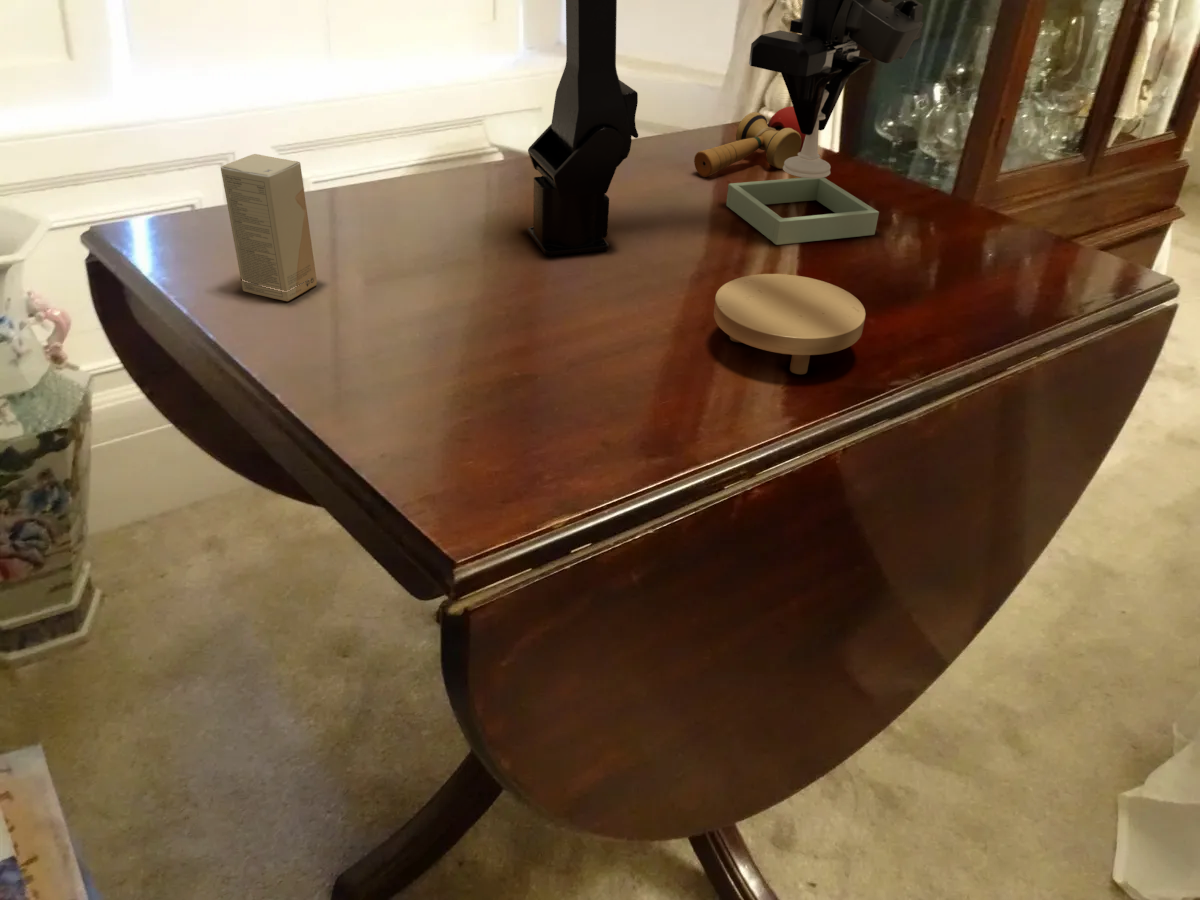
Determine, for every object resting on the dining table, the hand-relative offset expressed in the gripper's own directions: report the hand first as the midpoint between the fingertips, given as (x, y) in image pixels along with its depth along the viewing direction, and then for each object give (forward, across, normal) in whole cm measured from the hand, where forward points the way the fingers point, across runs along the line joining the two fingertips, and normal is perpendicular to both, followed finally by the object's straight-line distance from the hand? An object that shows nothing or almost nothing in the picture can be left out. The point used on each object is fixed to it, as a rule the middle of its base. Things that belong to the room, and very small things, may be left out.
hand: (812, 131), depth 105 cm
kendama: (+10, +12, +14) cm, 21 cm away
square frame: (+9, 0, 0) cm, 9 cm away
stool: (+9, -27, -14) cm, 32 cm away
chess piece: (+4, 0, 0) cm, 4 cm away
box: (+10, -49, +24) cm, 55 cm away
